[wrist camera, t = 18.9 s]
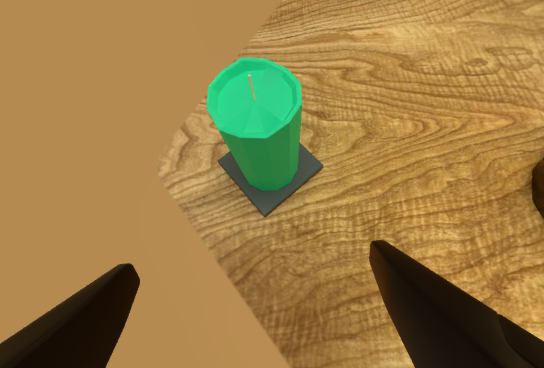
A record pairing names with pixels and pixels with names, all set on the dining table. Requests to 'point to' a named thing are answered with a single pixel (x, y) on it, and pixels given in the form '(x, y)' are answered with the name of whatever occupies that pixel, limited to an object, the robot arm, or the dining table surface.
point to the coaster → (272, 198)
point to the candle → (259, 119)
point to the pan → (539, 186)
